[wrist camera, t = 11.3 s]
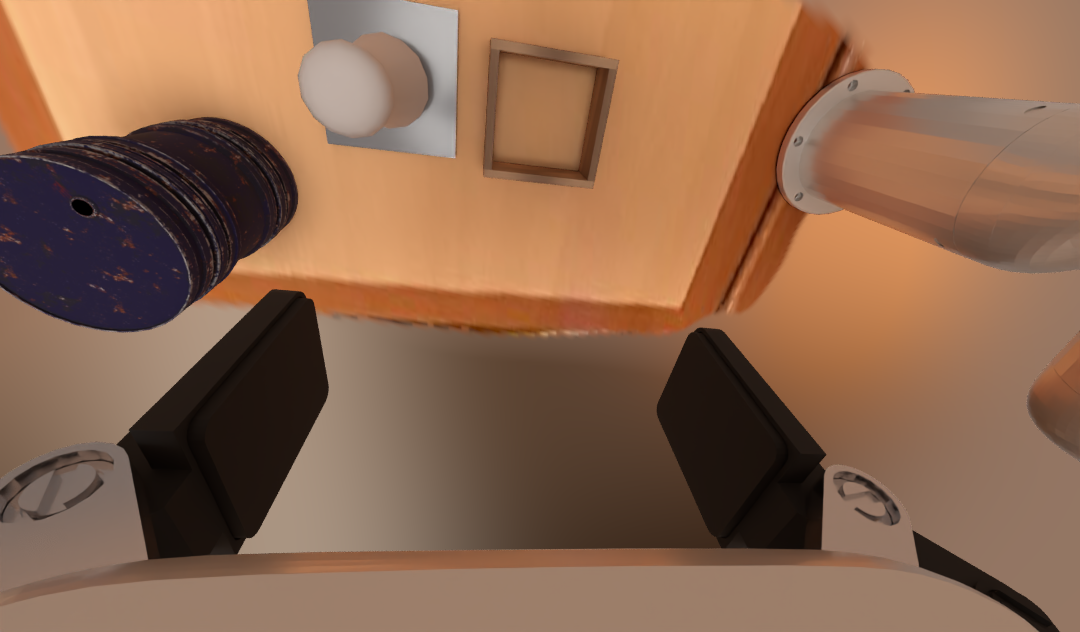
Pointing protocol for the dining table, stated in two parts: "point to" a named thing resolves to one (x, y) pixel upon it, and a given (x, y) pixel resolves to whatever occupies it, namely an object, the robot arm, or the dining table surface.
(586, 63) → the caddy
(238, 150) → the dark blue cylinder
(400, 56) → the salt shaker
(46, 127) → the dining table surface
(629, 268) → the dining table surface
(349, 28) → the coaster
